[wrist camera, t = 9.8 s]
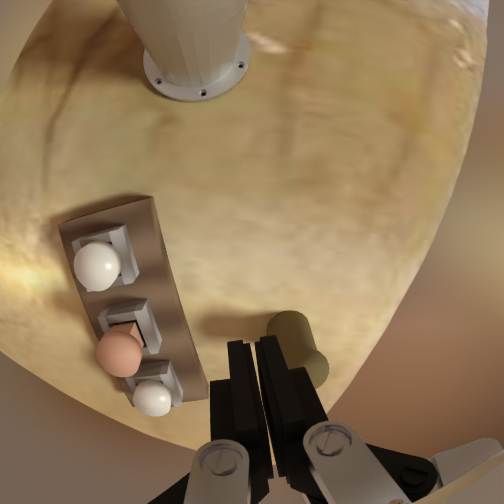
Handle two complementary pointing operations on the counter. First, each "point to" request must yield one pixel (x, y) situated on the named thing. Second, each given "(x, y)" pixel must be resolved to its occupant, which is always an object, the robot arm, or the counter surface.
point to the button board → (140, 297)
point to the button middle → (120, 350)
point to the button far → (152, 398)
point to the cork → (299, 345)
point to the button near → (97, 265)
